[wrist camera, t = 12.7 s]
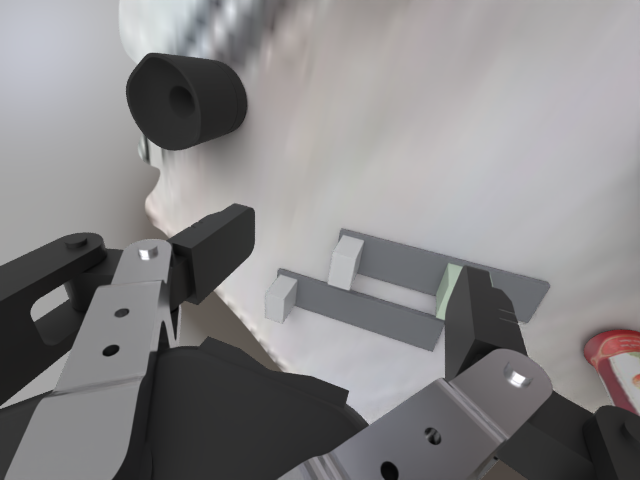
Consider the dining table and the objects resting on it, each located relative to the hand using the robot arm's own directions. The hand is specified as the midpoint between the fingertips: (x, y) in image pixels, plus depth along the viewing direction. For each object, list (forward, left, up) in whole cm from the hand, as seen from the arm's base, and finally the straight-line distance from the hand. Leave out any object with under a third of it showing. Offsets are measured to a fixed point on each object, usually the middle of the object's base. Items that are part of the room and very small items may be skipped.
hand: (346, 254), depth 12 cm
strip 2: (-7, +17, -28) cm, 33 cm away
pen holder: (+25, 0, -28) cm, 38 cm away
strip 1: (+2, +27, -28) cm, 39 cm away
